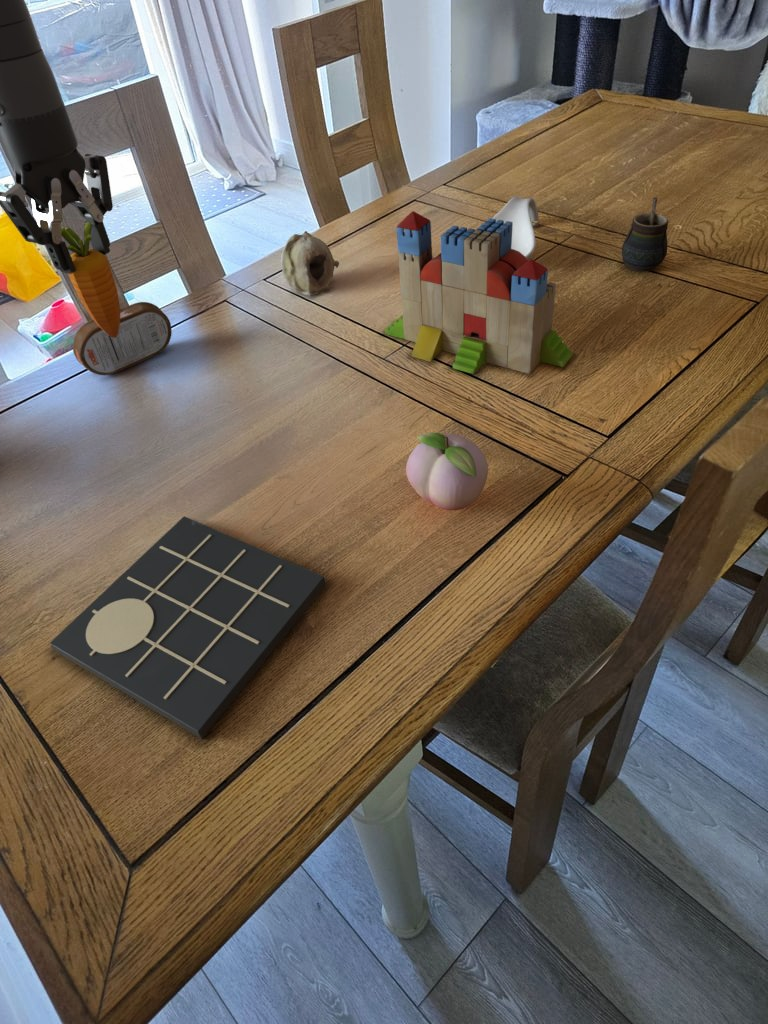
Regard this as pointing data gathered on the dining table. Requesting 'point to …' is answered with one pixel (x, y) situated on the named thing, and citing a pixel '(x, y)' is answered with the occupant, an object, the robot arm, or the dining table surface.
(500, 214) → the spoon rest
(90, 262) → the carrot
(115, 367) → the tin
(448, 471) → the decorative fruit
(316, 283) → the beige rounded lump
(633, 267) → the mate gourd
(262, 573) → the grid board
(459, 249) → the block set
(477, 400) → the dining table surface
